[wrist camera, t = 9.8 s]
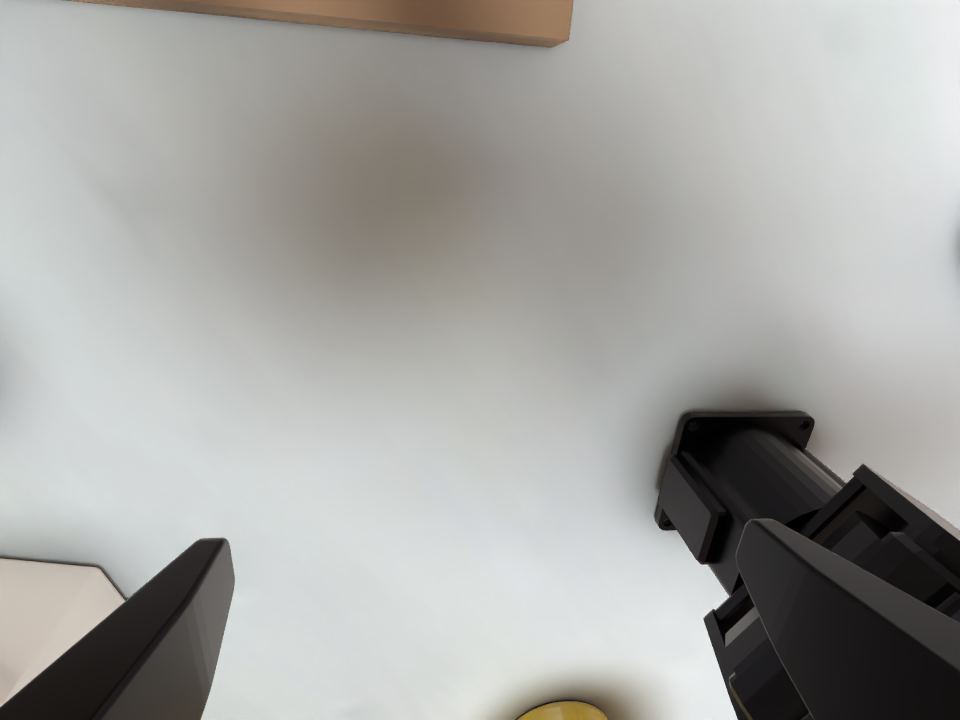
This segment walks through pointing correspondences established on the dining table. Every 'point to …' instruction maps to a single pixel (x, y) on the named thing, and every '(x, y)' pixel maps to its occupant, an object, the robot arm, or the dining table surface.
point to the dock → (400, 16)
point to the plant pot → (565, 712)
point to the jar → (46, 615)
